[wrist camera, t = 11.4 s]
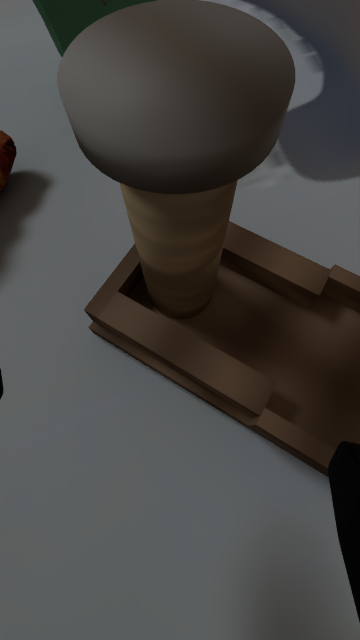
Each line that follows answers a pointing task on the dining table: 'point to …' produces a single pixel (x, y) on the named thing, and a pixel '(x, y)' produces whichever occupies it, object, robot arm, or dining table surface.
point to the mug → (76, 16)
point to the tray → (254, 342)
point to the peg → (177, 128)
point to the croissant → (6, 157)
